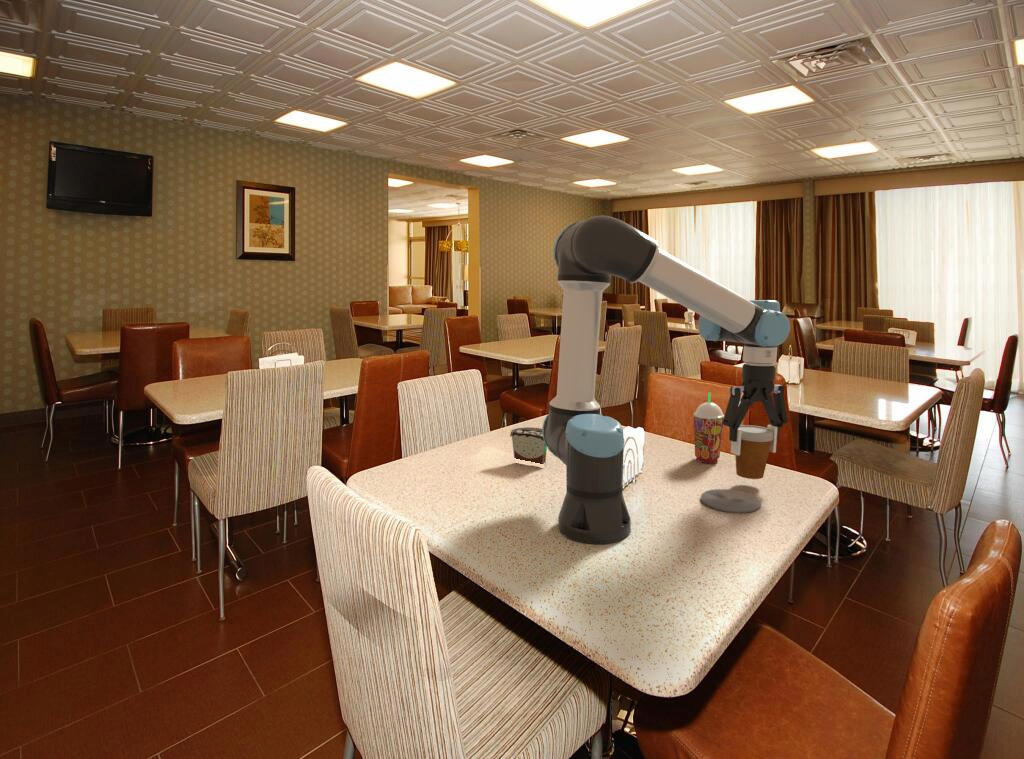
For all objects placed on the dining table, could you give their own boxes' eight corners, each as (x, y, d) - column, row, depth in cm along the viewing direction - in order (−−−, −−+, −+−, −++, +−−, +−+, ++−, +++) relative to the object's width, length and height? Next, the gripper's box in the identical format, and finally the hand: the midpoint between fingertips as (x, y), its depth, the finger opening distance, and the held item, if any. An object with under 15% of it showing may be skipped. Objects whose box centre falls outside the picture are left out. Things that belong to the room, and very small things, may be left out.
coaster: (722, 515, 123) (722, 512, 123) (690, 495, 136) (690, 492, 136) (773, 509, 126) (773, 506, 126) (737, 490, 139) (737, 487, 138)
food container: (557, 463, 162) (557, 430, 161) (547, 469, 157) (547, 434, 156) (521, 457, 169) (520, 425, 167) (510, 462, 164) (509, 429, 162)
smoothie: (686, 457, 165) (688, 391, 162) (710, 455, 168) (712, 389, 165) (703, 466, 157) (706, 396, 154) (728, 463, 160) (731, 394, 157)
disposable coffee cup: (774, 482, 136) (778, 434, 134) (733, 479, 137) (736, 432, 136) (765, 471, 145) (769, 425, 143) (726, 468, 147) (729, 423, 145)
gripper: (728, 367, 130) (723, 459, 134) (809, 364, 135) (801, 453, 139) (710, 363, 137) (705, 451, 141) (787, 360, 142) (780, 445, 146)
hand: (753, 452), depth 140 cm, fingers closed on disposable coffee cup, 9 cm apart
